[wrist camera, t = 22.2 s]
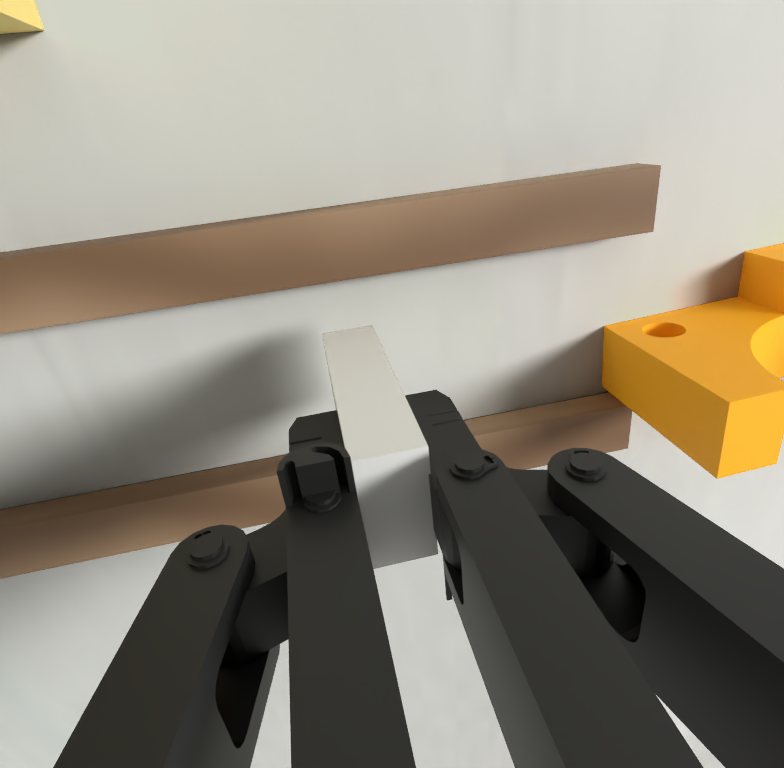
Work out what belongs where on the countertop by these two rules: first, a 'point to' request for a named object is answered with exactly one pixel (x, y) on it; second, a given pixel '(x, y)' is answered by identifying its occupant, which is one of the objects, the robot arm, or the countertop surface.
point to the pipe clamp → (710, 371)
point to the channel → (291, 270)
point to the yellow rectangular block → (19, 16)
